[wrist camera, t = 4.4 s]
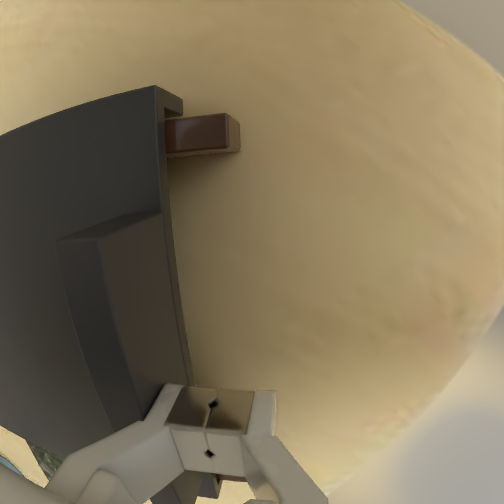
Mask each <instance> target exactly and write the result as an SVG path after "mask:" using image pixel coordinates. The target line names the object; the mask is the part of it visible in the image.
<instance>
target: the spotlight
mask: <svg viewBox="0 0 504 504" xmlns="http://www.w3.org/2000/svg"><path fill="white" fill-rule="evenodd" d="M0 462H1V463H3V464H4V465H6V466H7V467H9V468H10V469H12V470H13V471H15V472H17V473H18V474H20V475H21V476H23V475H22V474H21V473H20V472H19V471H18V470H17V469H16V468H15V467H14V466H13V465H12V464H11V463H10V462H8V461H7V460H6V459H5V458H3V457H1V456H0Z"/></svg>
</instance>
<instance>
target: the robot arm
mask: <svg viewBox="0 0 504 504" xmlns="http://www.w3.org/2000/svg"><path fill="white" fill-rule="evenodd" d="M276 422H277V421H276V391H275V390H256V391H252V390H229V389H215V388H205V387H196V386H188V385H185V386H184V385H178V384H171V383H167V384H166V385H164V386H163V388H162V390H161V391H160V393H159V395H158V397H157V398H156V400H155V402H154V404H153V405H152V407H151V409H150V411H149V412H148V414H147V416H146V418H145V419H144V421H137V422H135V423H133V424H131V425H129V426H127V427H125V428H123V429H121V430H119V431H117V432H115V433H113V434H111V435H109V436H107V437H105V438H103V439H101V440H99V441H97V442H95V443H93V444H91V445H89V446H87V447H84V448H82V449H80V450H78V451H76V452H74V453H71V454H69V455H68V456H67V457H66V458H65V460H64V461H63V463H62V464H61V465H60V467H59V468H58V470H57V471H56V472H55V474H54V475H53V477H52V478H51V479H50V481H49V482H48V484H47V485H46V487H45V488H42V487H41V486H39V485H37V484H35V483H33V482H32V481H30V480H28V479H26V478H25V477H23V476H21V475H20V474H18V473H17V472H15V471H13V470H12V469H10V468H9V467H7V466H6V465H4V464H3V463H1V462H0V504H143V503H144V502H146V501H147V500H148V499H150V498H151V497H152V496H154V495H155V494H156V493H158V492H159V491H160V490H161V489H163V488H164V487H165V486H167V485H168V484H169V483H170V482H172V481H173V480H174V479H175V478H176V477H178V476H179V475H180V474H181V473H183V472H184V469H185V470H192V471H199V472H208V473H217V474H224V475H232V476H241V477H245V478H246V480H247V482H248V484H249V486H250V488H251V490H252V491H253V493H254V495H255V497H256V499H257V500H256V499H250V500H249V501H247V502H245V503H244V504H328V498H327V497H326V496H325V495H324V493H323V492H322V491H321V490H320V489H319V488H318V486H317V485H316V484H315V483H314V482H313V480H312V479H311V478H310V477H309V476H308V475H307V473H306V472H305V471H304V470H303V468H302V467H301V466H300V465H299V464H298V462H297V461H296V460H295V459H294V457H293V456H292V455H291V454H290V452H289V451H288V450H287V449H286V447H285V446H284V445H283V443H282V442H281V441H280V440H279V438H278V437H277V436H276Z"/></svg>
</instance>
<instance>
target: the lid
mask: <svg viewBox="0 0 504 504" xmlns="http://www.w3.org/2000/svg"><path fill="white" fill-rule="evenodd" d="M182 115H183V100H182V99H181V98H179V97H177V96H175V95H173V94H171V93H170V92H168V91H166V90H164V89H162V88H160V87H158V86H156V85H153V86H149V87H144V88H140V89H135V90H131V91H127V92H123V93H119V94H115V95H111V96H108V97H104V98H101V99H97V100H94V101H90V102H87V103H84V104H81V105H78V106H74V107H71V108H68V109H65V110H63V111H60V112H57V113H54V114H51V115H49V116H46V117H43V118H41V119H38V120H36V121H33V122H31V123H28V124H26V125H23V126H21V127H19V128H16V129H14V130H12V131H9V132H7V133H5V134H3V135H1V136H0V426H2V427H4V428H6V429H7V430H9V431H11V432H13V433H14V434H16V435H18V436H20V437H22V438H24V439H26V440H28V441H30V442H32V443H34V444H36V445H38V446H40V447H42V448H44V449H46V450H48V451H50V452H53V453H55V454H57V455H59V456H62V457H64V458H66V457H67V456H68V455H69V454H71V453H74V452H76V451H78V450H80V449H82V448H84V447H87V446H89V445H91V444H93V443H95V442H97V441H99V440H101V439H103V438H105V437H107V436H109V435H111V434H113V433H115V432H117V431H119V430H121V429H123V428H125V427H127V426H129V425H131V424H133V423H135V422H137V421H144V419H145V418H146V416H147V414H148V412H149V411H150V409H151V407H152V405H153V404H154V402H155V400H156V398H157V397H158V395H159V393H160V391H161V390H162V388H163V386H164V385H166V384H167V383H171V384H178V385H184V386H185V385H188V386H195V381H194V376H193V371H192V365H191V360H190V354H189V349H188V343H187V337H186V331H185V324H184V318H183V311H182V305H181V298H180V291H179V283H178V276H177V268H176V259H175V251H174V242H173V233H172V223H171V212H170V201H169V189H168V176H167V161H166V143H165V121H164V119H166V118H173V117H179V116H182ZM222 481H223V480H220V479H217V478H216V474H215V473H208V472H199V471H192V470H185V469H184V472H183V473H181V474H180V475H179V476H178V477H176V478H175V479H174V480H173V481H172V482H170V483H169V484H168V485H167V486H165V487H164V488H163V489H161V490H160V491H159V492H158V493H156V494H155V495H154V496H152V497H151V498H150V500H151V502H152V503H153V504H195V502H196V498H197V496H200V497H207V498H214V499H218V497H219V493H220V489H221V485H222Z"/></svg>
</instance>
